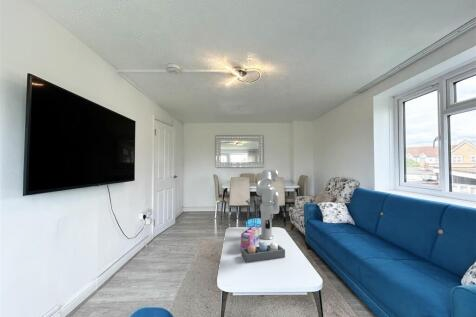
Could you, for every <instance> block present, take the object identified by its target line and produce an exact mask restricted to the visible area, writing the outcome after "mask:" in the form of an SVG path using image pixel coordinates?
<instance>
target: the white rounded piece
mask: <svg viewBox="0 0 476 317" xmlns="http://www.w3.org/2000/svg"><path fill="white" fill-rule="evenodd" d="M269 245H270V250H271V251H275V250H278V245H279V244H278V243H276V242H271V243H270V244H269Z"/></svg>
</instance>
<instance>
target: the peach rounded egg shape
mask: <svg viewBox="0 0 476 317" xmlns="http://www.w3.org/2000/svg"><path fill="white" fill-rule="evenodd" d="M252 253H255V246H253V245H250V246H248V254H252Z"/></svg>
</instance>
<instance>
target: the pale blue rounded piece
mask: <svg viewBox="0 0 476 317" xmlns="http://www.w3.org/2000/svg"><path fill="white" fill-rule="evenodd" d="M267 245H268V244H267V243H266V242H265V241H263V242H260V243H259V244H258V246H259V251H260V252H267Z"/></svg>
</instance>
